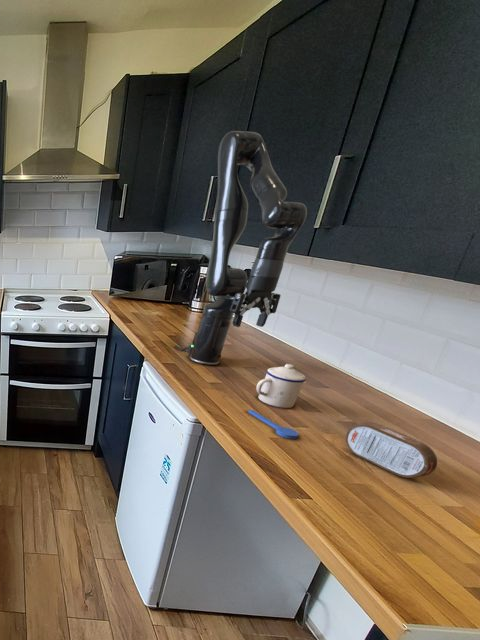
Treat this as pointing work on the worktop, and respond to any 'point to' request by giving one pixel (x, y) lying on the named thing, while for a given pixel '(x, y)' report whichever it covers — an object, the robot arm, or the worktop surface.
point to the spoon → (276, 427)
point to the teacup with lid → (280, 386)
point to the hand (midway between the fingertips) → (247, 326)
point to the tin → (391, 450)
